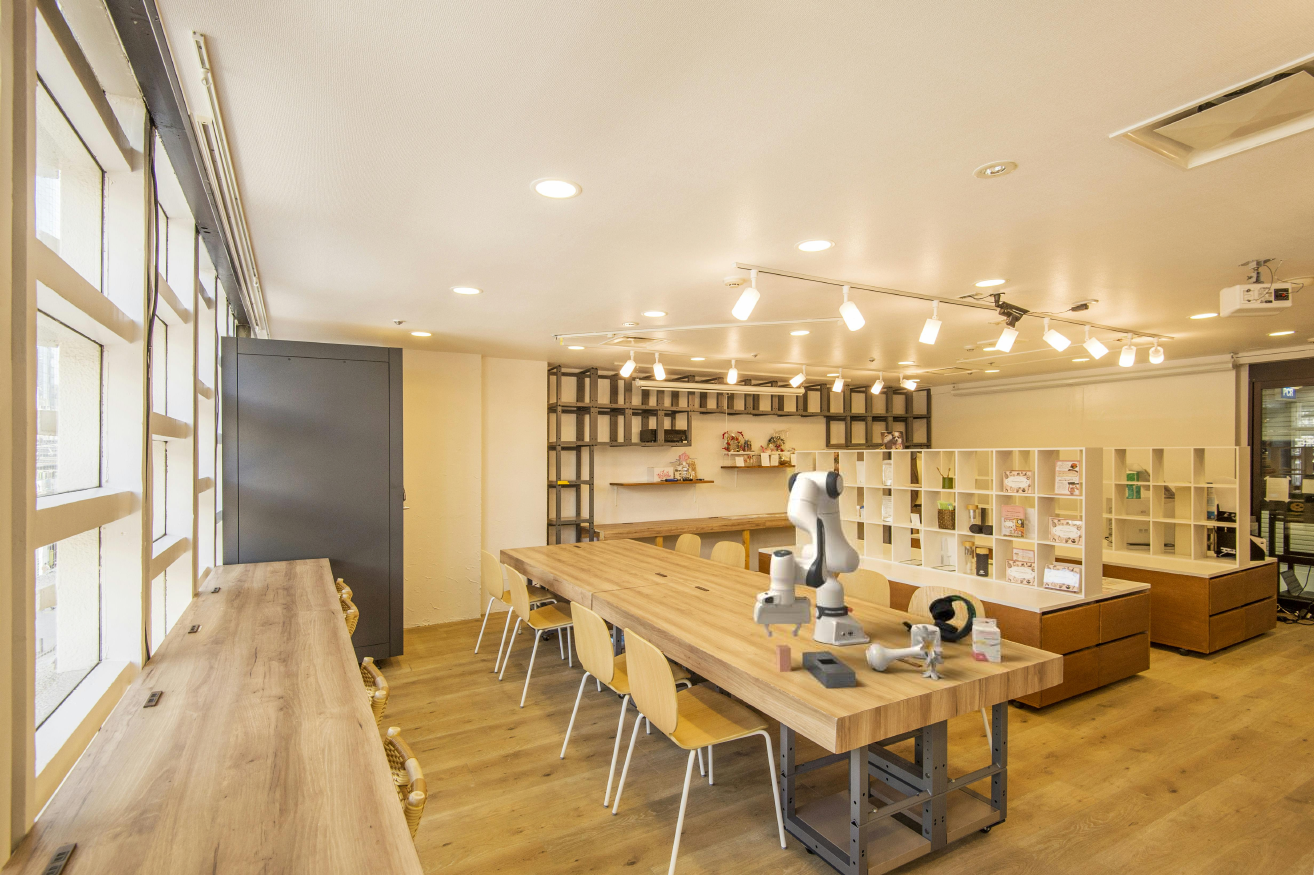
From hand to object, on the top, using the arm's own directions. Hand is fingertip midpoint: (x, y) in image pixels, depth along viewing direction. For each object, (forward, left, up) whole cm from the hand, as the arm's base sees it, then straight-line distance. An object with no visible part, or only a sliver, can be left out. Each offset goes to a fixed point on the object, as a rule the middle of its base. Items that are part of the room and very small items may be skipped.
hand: (782, 636), depth 218 cm
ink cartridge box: (-78, -1, -12) cm, 79 cm away
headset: (-76, -28, -12) cm, 82 cm away
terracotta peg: (0, 0, -12) cm, 12 cm away
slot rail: (-13, +8, -12) cm, 19 cm away
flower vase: (-41, +9, -12) cm, 44 cm away
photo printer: (-57, -6, -12) cm, 59 cm away
